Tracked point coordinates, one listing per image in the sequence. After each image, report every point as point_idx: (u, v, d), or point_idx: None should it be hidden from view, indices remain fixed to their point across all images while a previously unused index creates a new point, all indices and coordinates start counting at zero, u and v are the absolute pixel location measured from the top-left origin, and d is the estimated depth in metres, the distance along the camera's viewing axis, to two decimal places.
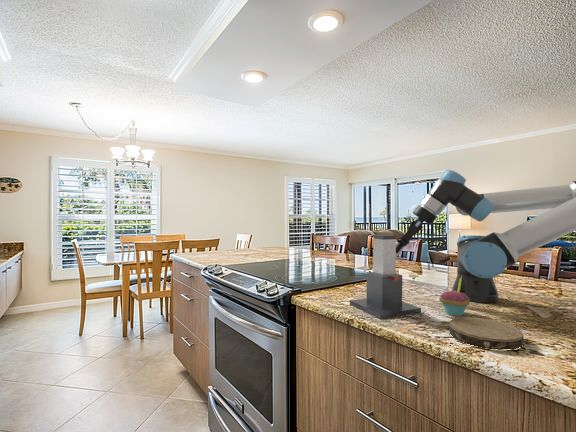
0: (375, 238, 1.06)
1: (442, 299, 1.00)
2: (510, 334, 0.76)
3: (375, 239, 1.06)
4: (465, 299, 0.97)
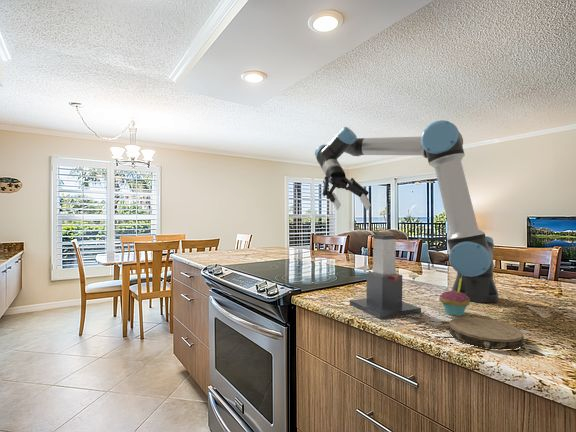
0: (375, 238, 1.06)
1: (442, 299, 1.00)
2: (510, 334, 0.76)
3: (375, 239, 1.06)
4: (465, 299, 0.97)
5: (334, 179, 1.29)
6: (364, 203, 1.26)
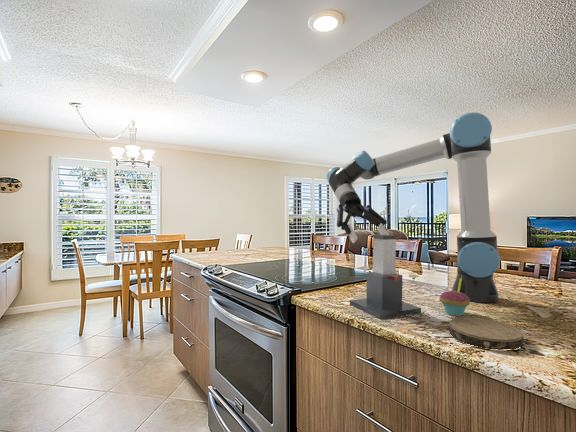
0: (375, 238, 1.06)
1: (442, 299, 1.00)
2: (510, 334, 0.76)
3: (375, 239, 1.06)
4: (465, 299, 0.97)
5: (349, 207, 1.18)
6: (383, 234, 1.15)
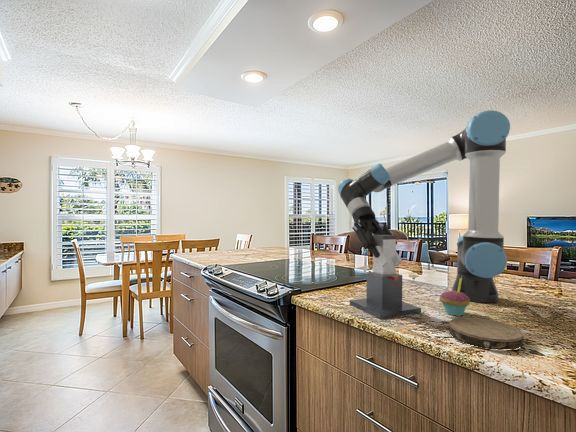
0: (375, 238, 1.06)
1: (442, 299, 1.00)
2: (510, 334, 0.76)
3: (375, 239, 1.06)
4: (465, 299, 0.97)
5: (363, 222, 1.11)
6: None
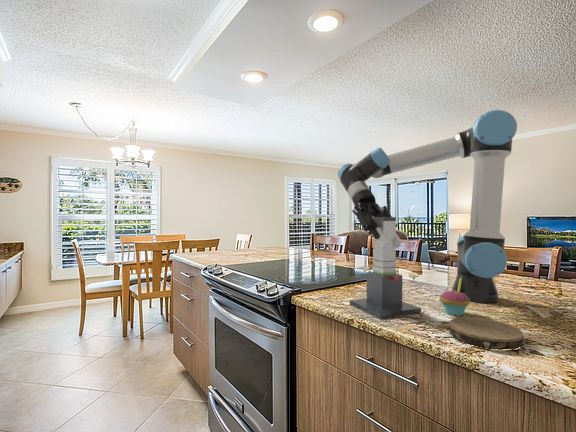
0: (375, 220, 1.06)
1: (442, 299, 1.00)
2: (510, 334, 0.76)
3: (375, 221, 1.06)
4: (465, 299, 0.97)
5: (364, 205, 1.11)
6: None
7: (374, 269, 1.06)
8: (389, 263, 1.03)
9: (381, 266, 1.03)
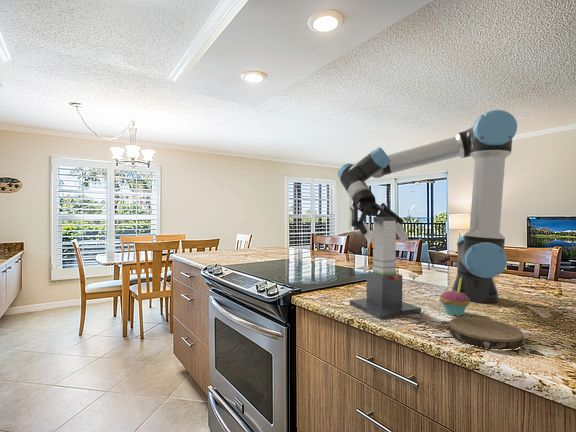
0: (375, 220, 1.06)
1: (442, 299, 1.00)
2: (510, 334, 0.76)
3: (375, 221, 1.06)
4: (465, 299, 0.97)
5: (363, 205, 1.11)
6: (400, 234, 1.08)
7: (374, 269, 1.06)
8: (389, 263, 1.03)
9: (381, 266, 1.03)
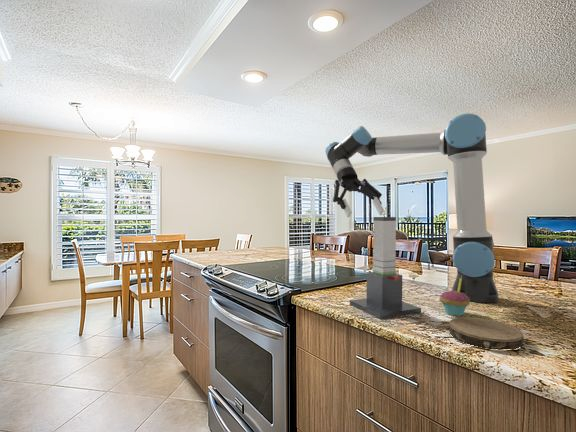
0: (375, 220, 1.06)
1: (442, 299, 1.00)
2: (510, 334, 0.76)
3: (375, 221, 1.06)
4: (465, 299, 0.97)
5: (345, 182, 1.24)
6: (377, 207, 1.21)
7: (374, 269, 1.06)
8: (389, 263, 1.03)
9: (381, 266, 1.03)
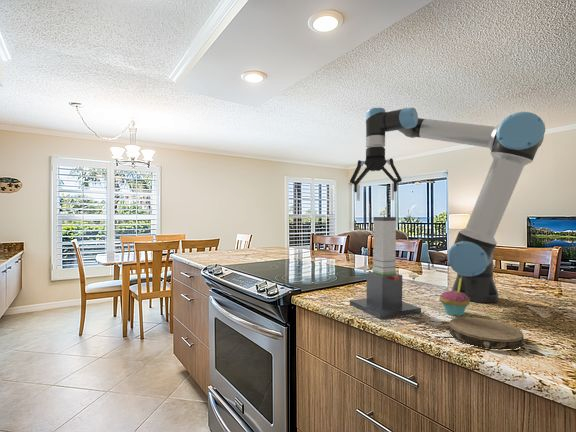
0: (375, 220, 1.06)
1: (442, 299, 1.00)
2: (510, 334, 0.76)
3: (375, 221, 1.06)
4: (465, 299, 0.97)
5: (367, 163, 1.30)
6: None
7: (374, 269, 1.06)
8: (389, 263, 1.03)
9: (381, 266, 1.03)
